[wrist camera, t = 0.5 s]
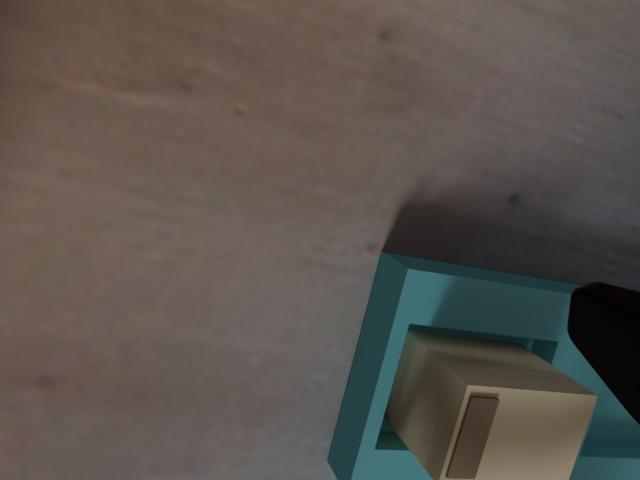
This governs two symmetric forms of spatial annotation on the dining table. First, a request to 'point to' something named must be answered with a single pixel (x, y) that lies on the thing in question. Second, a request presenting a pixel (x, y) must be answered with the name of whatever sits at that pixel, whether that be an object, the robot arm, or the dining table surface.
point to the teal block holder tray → (476, 322)
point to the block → (486, 409)
